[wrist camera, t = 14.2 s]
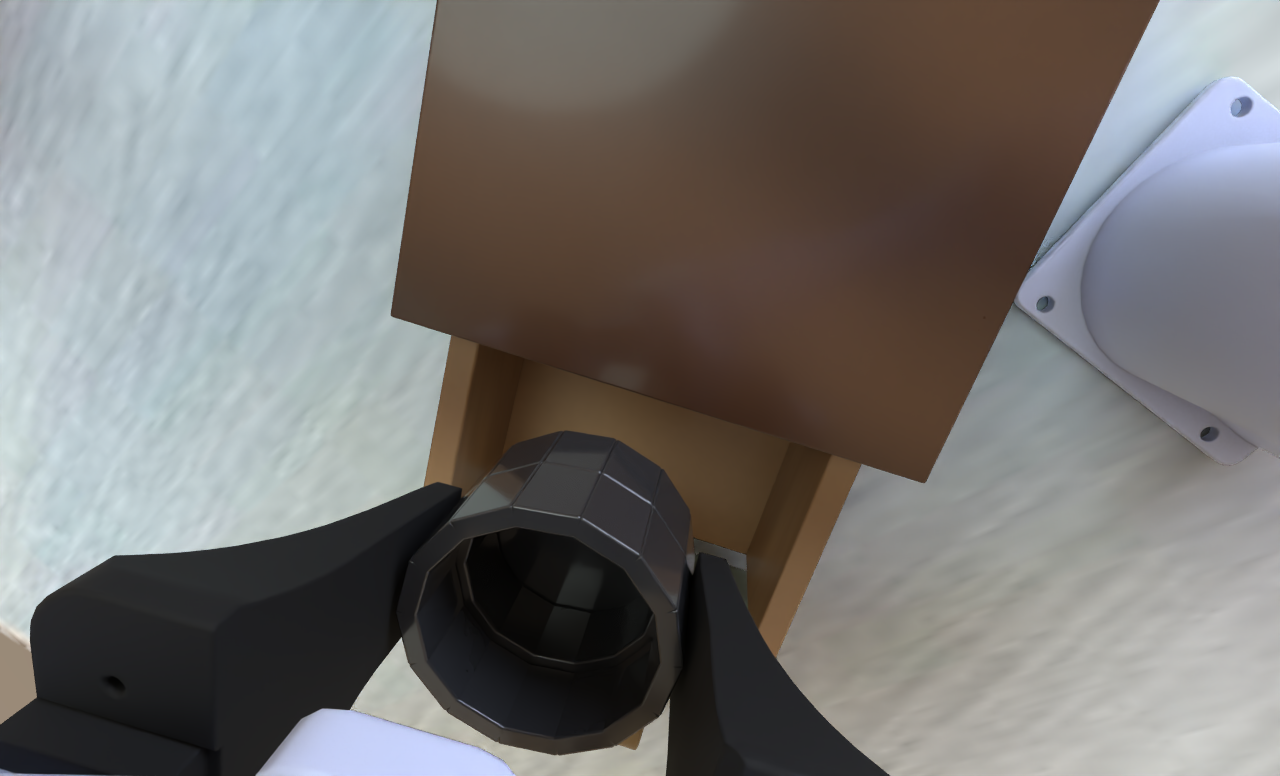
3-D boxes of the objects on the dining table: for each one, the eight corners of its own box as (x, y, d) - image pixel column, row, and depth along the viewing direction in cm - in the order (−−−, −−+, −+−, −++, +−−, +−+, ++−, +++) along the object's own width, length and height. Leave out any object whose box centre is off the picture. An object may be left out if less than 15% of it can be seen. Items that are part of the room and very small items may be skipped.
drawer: (720, 697, 26) (716, 844, 20) (441, 604, 27) (359, 721, 21) (887, 296, 21) (948, 341, 15) (528, 188, 21) (449, 190, 15)
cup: (621, 656, 17) (587, 799, 13) (441, 543, 17) (351, 655, 13) (741, 507, 15) (744, 621, 11) (542, 379, 15) (474, 449, 11)
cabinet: (861, 384, 22) (926, 485, 15) (500, 273, 23) (388, 316, 16) (1044, -49, 18) (1264, -212, 11) (591, -173, 19) (495, -410, 11)
